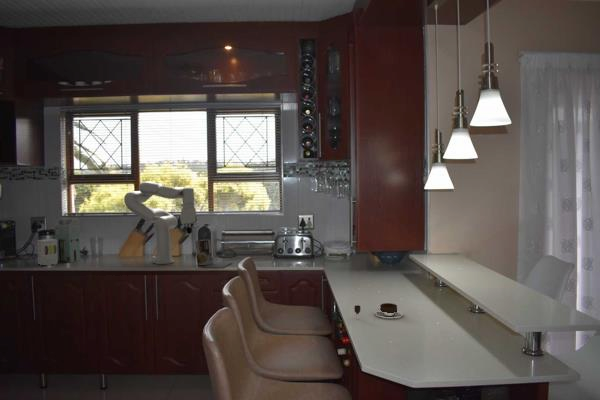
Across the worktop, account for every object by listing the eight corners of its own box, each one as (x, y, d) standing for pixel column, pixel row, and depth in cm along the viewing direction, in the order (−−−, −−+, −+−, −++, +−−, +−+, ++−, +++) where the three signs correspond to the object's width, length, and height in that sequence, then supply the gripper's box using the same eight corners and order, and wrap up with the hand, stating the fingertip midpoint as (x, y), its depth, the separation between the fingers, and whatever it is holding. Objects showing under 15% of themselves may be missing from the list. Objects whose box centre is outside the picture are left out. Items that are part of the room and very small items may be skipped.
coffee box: (213, 262, 320) (211, 239, 319) (210, 264, 313) (208, 240, 313) (200, 263, 321) (198, 239, 320) (197, 265, 314) (194, 241, 314)
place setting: (403, 324, 192) (403, 309, 191) (353, 321, 195) (353, 307, 195) (402, 311, 209) (402, 298, 208) (356, 309, 213) (356, 296, 212)
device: (55, 260, 337) (54, 218, 335) (65, 259, 344) (64, 217, 342) (70, 262, 329) (68, 219, 327) (80, 260, 335) (78, 218, 334)
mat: (203, 267, 308) (203, 266, 307) (215, 262, 324) (215, 261, 324) (221, 268, 304) (221, 267, 304) (232, 263, 321) (232, 262, 321)
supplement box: (43, 266, 317) (42, 241, 316) (37, 264, 323) (36, 239, 322) (58, 264, 325) (57, 239, 324) (51, 262, 330) (50, 238, 329)
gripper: (175, 206, 316) (176, 233, 317) (196, 206, 312) (196, 234, 313) (181, 205, 323) (182, 232, 324) (201, 205, 320) (202, 232, 320)
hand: (189, 233), depth 319 cm, fingers closed
